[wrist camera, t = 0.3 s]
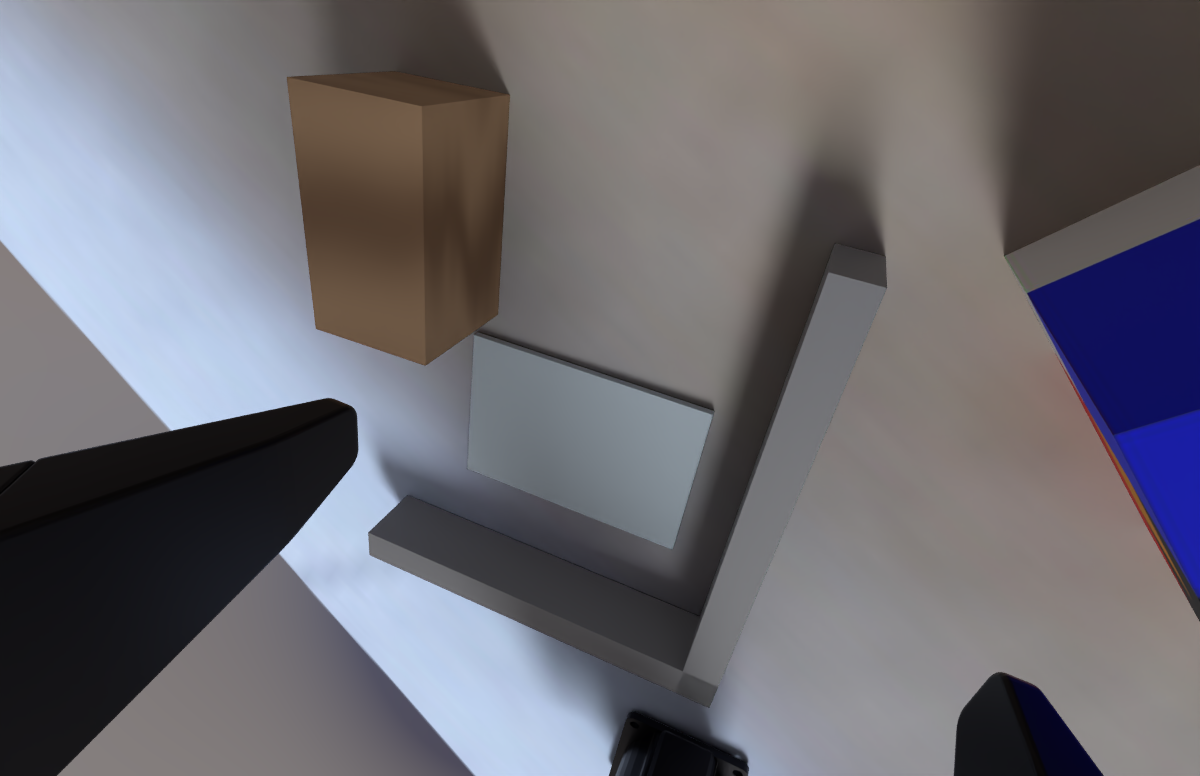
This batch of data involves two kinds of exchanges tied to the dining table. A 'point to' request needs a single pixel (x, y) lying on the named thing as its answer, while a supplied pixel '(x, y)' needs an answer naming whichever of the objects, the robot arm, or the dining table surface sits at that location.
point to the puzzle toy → (1134, 348)
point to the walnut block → (401, 206)
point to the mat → (584, 439)
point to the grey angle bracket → (705, 644)
